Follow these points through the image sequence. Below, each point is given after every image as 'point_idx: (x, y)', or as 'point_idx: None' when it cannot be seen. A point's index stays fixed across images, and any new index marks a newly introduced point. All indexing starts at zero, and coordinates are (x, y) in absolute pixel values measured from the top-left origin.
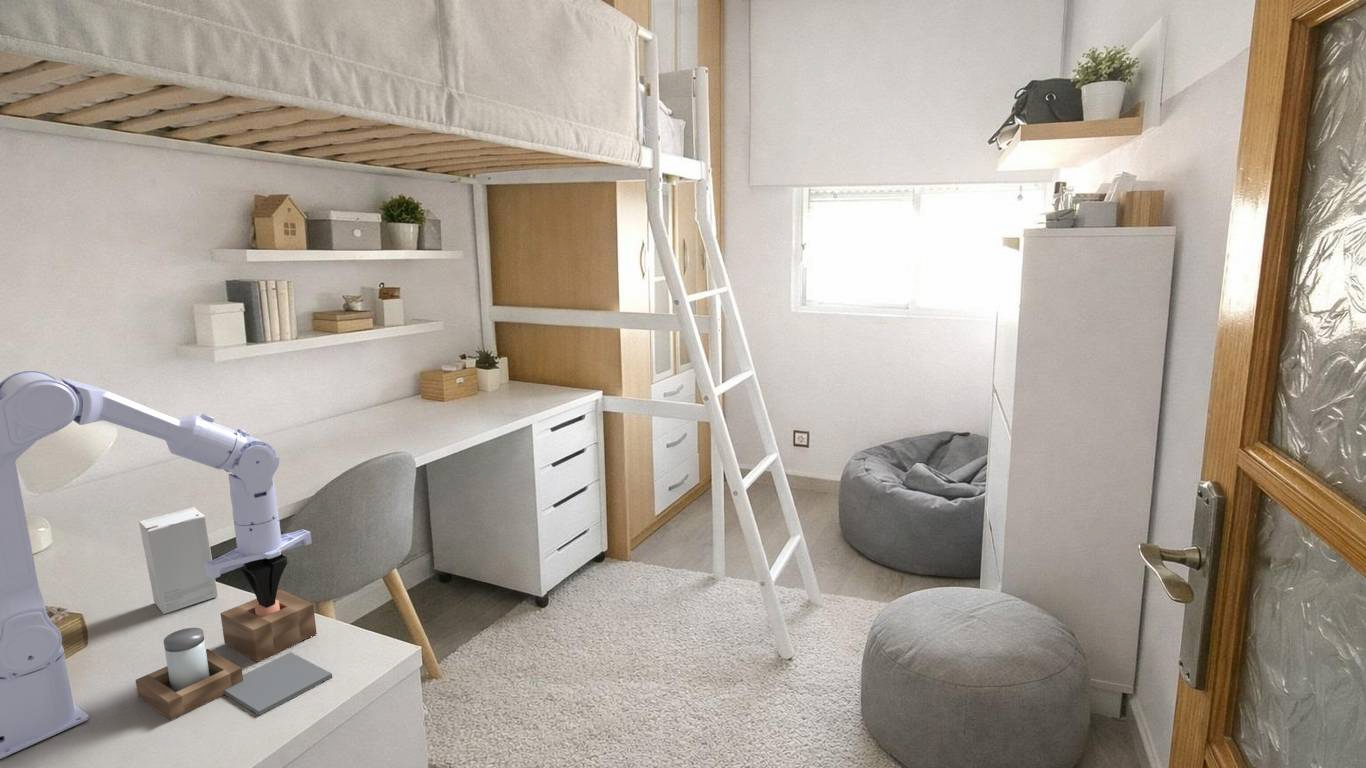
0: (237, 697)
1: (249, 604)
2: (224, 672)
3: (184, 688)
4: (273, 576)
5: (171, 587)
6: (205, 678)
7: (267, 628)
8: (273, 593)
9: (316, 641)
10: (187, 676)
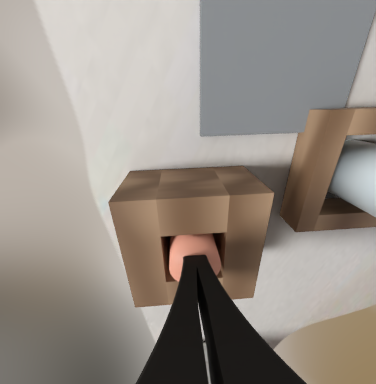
0: (361, 51)
1: None
2: (354, 124)
3: None
4: (197, 345)
5: None
6: (360, 149)
7: (235, 189)
8: (190, 279)
9: (141, 147)
10: None
